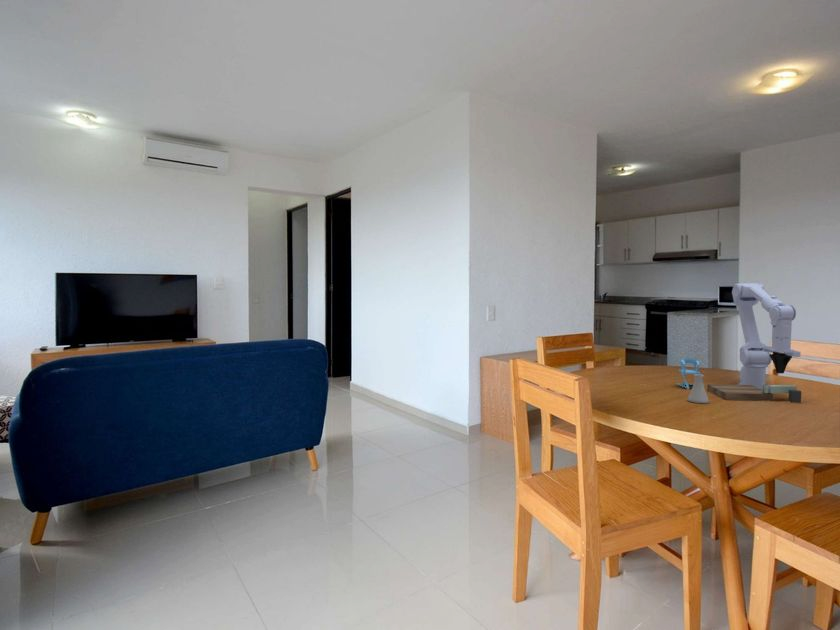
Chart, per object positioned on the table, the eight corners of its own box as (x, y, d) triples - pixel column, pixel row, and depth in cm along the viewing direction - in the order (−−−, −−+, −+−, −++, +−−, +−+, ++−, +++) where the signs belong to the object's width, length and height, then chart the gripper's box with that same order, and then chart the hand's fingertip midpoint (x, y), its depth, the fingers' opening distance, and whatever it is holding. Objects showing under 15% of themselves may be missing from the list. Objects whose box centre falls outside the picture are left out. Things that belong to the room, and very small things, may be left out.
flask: (712, 404, 173) (713, 377, 173) (691, 403, 175) (691, 376, 174) (705, 399, 180) (705, 373, 180) (684, 398, 182) (684, 372, 181)
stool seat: (707, 390, 195) (707, 384, 195) (750, 391, 192) (750, 384, 192) (726, 399, 179) (726, 393, 179) (773, 400, 177) (773, 394, 176)
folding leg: (765, 393, 177) (765, 386, 177) (761, 391, 179) (761, 385, 179) (796, 393, 176) (797, 386, 176) (791, 391, 179) (791, 384, 179)
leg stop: (788, 401, 176) (788, 389, 176) (797, 401, 175) (797, 390, 175) (791, 402, 174) (792, 391, 174) (801, 402, 173) (801, 391, 173)
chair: (681, 389, 198) (681, 360, 197) (676, 385, 206) (677, 357, 205) (702, 390, 195) (703, 361, 194) (697, 385, 203) (697, 357, 202)
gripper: (756, 335, 187) (755, 369, 188) (788, 340, 173) (787, 377, 174) (772, 335, 188) (771, 369, 189) (806, 339, 174) (804, 376, 175)
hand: (780, 373), depth 182 cm, fingers closed
